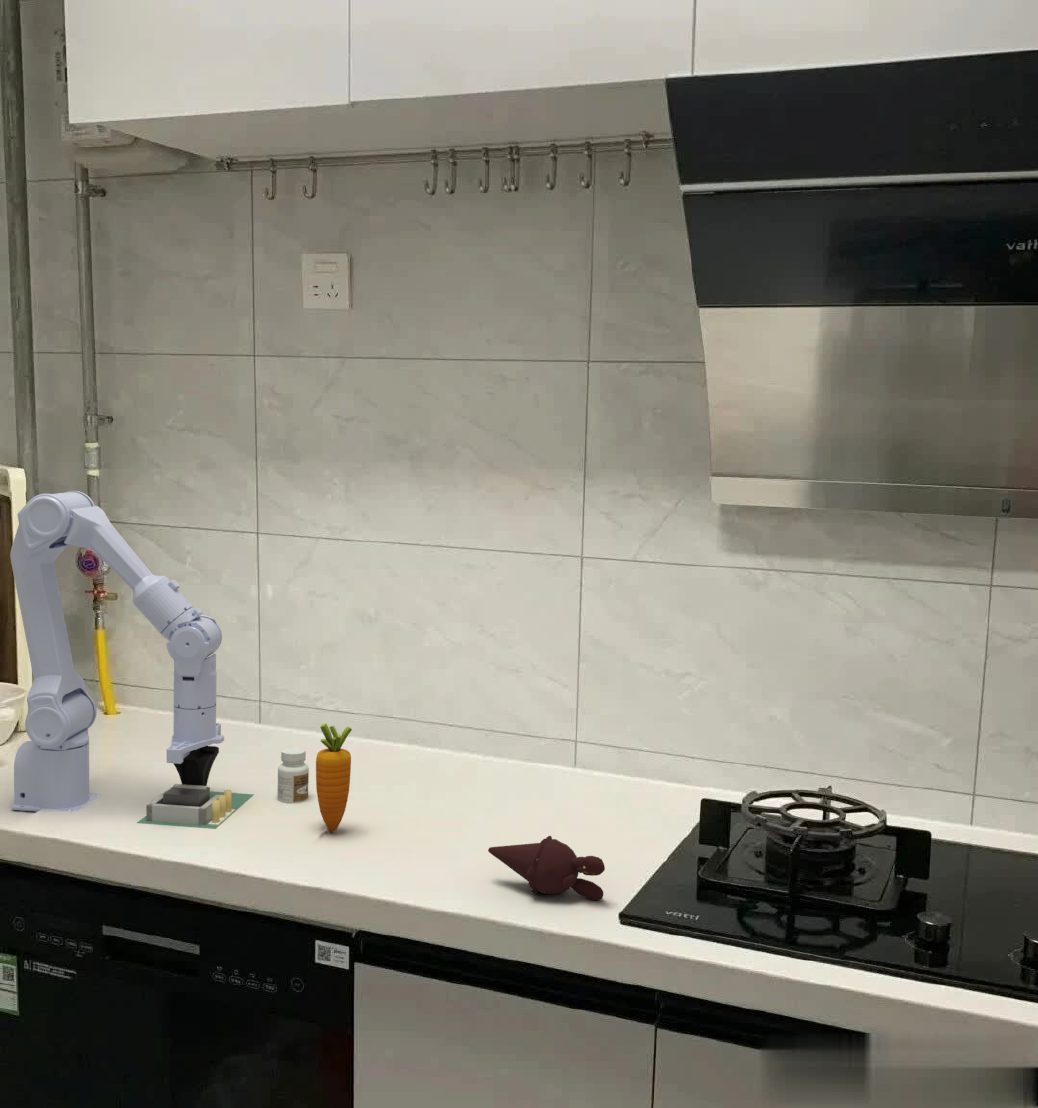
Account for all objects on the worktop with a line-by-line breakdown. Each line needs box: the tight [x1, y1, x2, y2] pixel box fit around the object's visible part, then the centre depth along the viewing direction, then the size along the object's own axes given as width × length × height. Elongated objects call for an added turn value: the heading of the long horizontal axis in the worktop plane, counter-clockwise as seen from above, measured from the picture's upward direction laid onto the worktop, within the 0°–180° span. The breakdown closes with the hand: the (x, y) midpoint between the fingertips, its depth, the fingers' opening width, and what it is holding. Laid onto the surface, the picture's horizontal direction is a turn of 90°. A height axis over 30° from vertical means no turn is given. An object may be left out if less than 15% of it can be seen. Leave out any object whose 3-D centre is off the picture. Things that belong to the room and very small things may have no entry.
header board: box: [136, 789, 255, 830], centre depth 163 cm, size 11×15×4 cm
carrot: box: [315, 723, 352, 834], centre depth 156 cm, size 5×5×15 cm
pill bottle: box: [277, 746, 310, 804], centre depth 168 cm, size 4×4×8 cm
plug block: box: [162, 783, 211, 807], centre depth 160 cm, size 5×4×4 cm
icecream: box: [487, 835, 606, 902], centre depth 139 cm, size 7×7×15 cm
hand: (194, 799), depth 163 cm, fingers closed
